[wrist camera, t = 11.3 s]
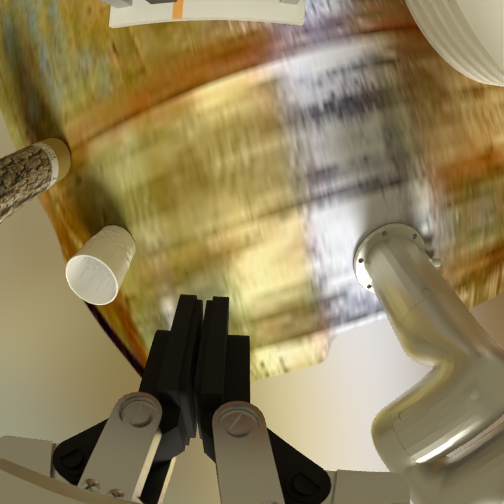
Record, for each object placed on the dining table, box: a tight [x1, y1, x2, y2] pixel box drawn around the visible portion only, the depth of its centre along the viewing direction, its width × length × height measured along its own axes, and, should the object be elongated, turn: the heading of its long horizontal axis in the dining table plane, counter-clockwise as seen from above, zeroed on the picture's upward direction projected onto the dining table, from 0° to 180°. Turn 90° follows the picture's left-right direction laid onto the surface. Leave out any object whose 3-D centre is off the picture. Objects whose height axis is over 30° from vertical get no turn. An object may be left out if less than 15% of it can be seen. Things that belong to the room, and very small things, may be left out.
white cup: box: [66, 225, 135, 305], centre depth 41 cm, size 8×8×10 cm
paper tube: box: [0, 138, 71, 223], centre depth 27 cm, size 7×7×25 cm
